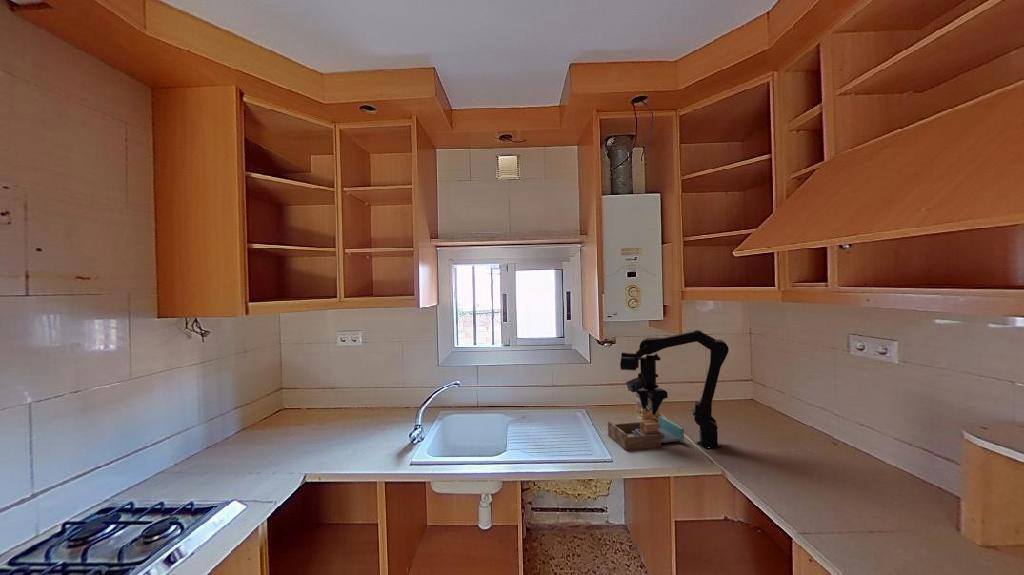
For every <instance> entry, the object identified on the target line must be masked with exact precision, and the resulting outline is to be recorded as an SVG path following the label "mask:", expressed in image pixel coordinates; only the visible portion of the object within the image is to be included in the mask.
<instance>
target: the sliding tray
mask: <svg viewBox="0 0 1024 575" xmlns="http://www.w3.org/2000/svg"><path fill="white" fill-rule="evenodd" d="M684 430H685V428H684V427H682V426H680V425H678V424H676V423H675V422H674V421H671V420H669V419H668V418H666V417H664V416H663V415H662V416H661V415H660V416H659V427H658V434H660V438H661V443H662V444H663V443H664V444H665V443H673V442H675V443H676V442H680V443H684V442H685V431H684ZM631 433H632V434H634V435H635V436H644V435H643V434H642V433H641V432H640V429H635V430H631Z"/></svg>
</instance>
